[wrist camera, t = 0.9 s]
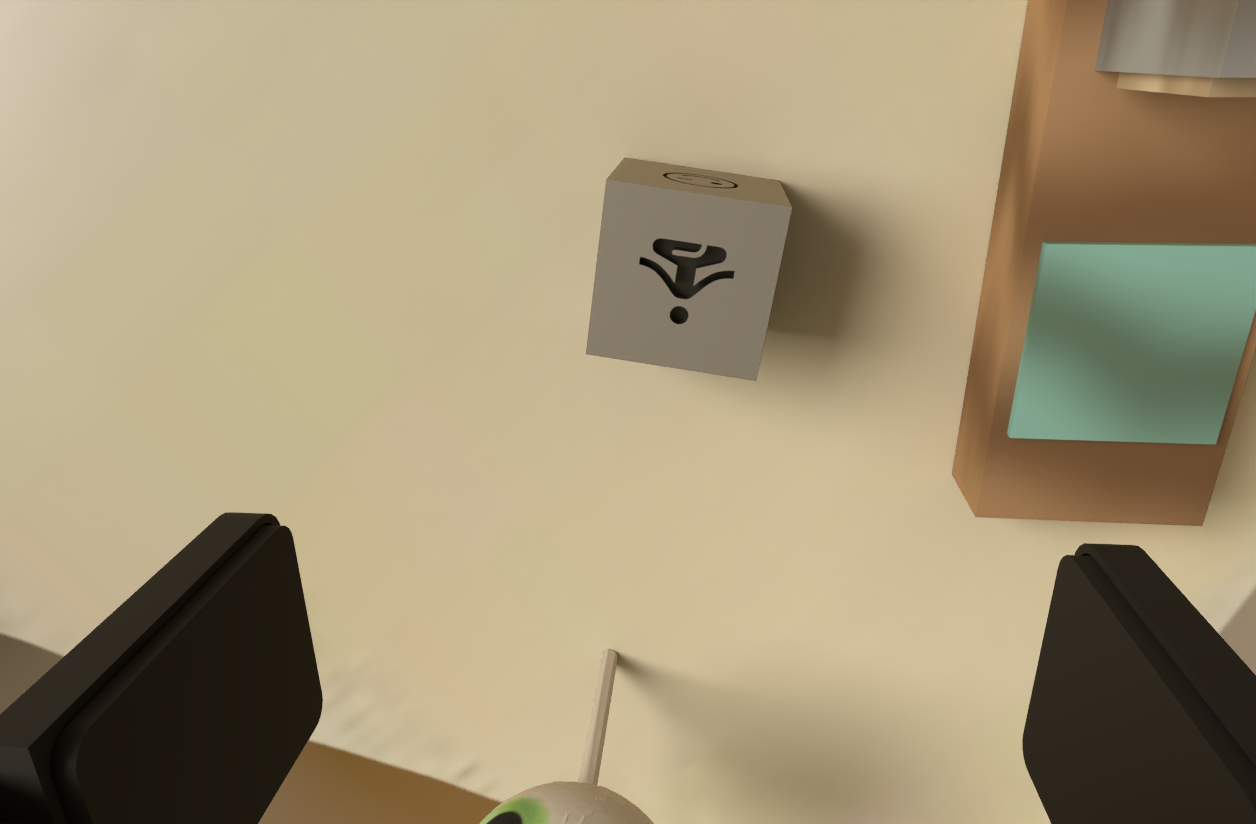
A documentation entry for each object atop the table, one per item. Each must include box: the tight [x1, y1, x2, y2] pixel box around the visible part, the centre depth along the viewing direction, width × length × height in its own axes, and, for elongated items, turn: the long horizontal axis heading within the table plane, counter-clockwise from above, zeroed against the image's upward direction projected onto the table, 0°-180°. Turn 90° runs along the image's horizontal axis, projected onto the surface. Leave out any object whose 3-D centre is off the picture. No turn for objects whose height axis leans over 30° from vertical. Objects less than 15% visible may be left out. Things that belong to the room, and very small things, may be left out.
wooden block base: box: [952, 0, 1256, 526], centre depth 22 cm, size 20×7×9 cm, turn 0°
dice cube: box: [586, 158, 792, 381], centre depth 26 cm, size 5×5×5 cm
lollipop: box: [480, 650, 654, 824], centre depth 28 cm, size 7×7×15 cm
